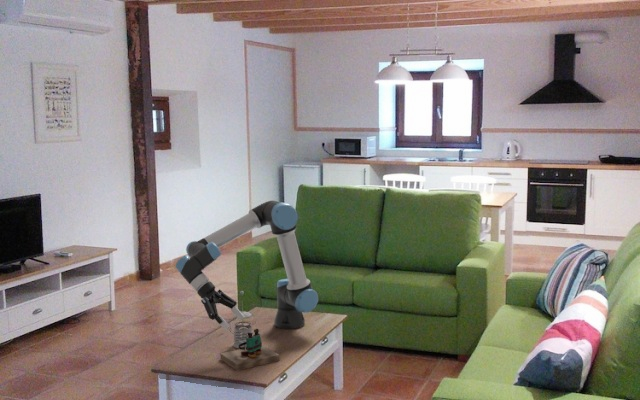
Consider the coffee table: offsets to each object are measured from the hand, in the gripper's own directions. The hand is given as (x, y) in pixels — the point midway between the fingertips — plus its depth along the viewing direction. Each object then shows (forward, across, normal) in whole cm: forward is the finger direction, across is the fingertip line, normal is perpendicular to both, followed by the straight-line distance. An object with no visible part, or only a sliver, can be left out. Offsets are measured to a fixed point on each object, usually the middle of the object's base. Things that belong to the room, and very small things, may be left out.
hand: (235, 323), depth 293 cm
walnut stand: (+15, 0, -6) cm, 17 cm away
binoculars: (+14, 0, -5) cm, 14 cm away
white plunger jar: (+7, -17, -16) cm, 24 cm away
